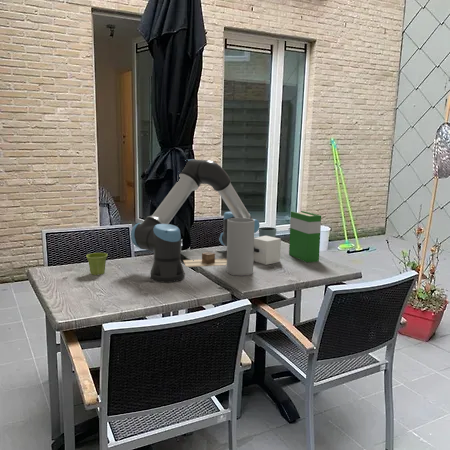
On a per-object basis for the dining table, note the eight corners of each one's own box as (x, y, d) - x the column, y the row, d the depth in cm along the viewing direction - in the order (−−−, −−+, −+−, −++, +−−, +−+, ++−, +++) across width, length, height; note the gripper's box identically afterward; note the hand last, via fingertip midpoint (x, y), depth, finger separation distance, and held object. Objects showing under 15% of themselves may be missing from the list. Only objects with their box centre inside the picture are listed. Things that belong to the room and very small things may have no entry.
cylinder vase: (221, 272, 212) (221, 219, 207) (238, 267, 221) (239, 216, 216) (241, 278, 203) (242, 223, 199) (258, 272, 212) (260, 220, 208)
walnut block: (214, 262, 227) (214, 253, 226) (207, 264, 224) (207, 255, 223) (208, 260, 230) (209, 252, 229) (201, 262, 227) (201, 253, 226)
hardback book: (289, 254, 248) (290, 211, 244) (300, 253, 251) (302, 210, 247) (306, 262, 233) (309, 216, 228) (318, 261, 235) (321, 215, 231)
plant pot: (102, 277, 202) (101, 258, 200) (83, 275, 203) (82, 256, 202) (111, 271, 211) (111, 253, 209) (93, 270, 212) (92, 252, 211)
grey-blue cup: (257, 250, 258) (257, 229, 256) (258, 246, 268) (259, 226, 265) (275, 251, 256) (275, 230, 254) (276, 247, 266) (276, 227, 264)
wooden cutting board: (234, 266, 223) (234, 264, 223) (186, 267, 218) (186, 266, 218) (229, 259, 236) (229, 258, 236) (183, 261, 231) (183, 260, 231)
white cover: (280, 261, 233) (280, 238, 231) (266, 264, 226) (266, 241, 224) (265, 257, 240) (266, 235, 238) (251, 260, 233) (252, 237, 231)
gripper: (256, 246, 253) (286, 254, 237) (226, 252, 238) (255, 261, 222) (257, 233, 252) (287, 240, 236) (226, 238, 237) (256, 246, 221)
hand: (272, 250), depth 229 cm, fingers closed on white cover, 10 cm apart
